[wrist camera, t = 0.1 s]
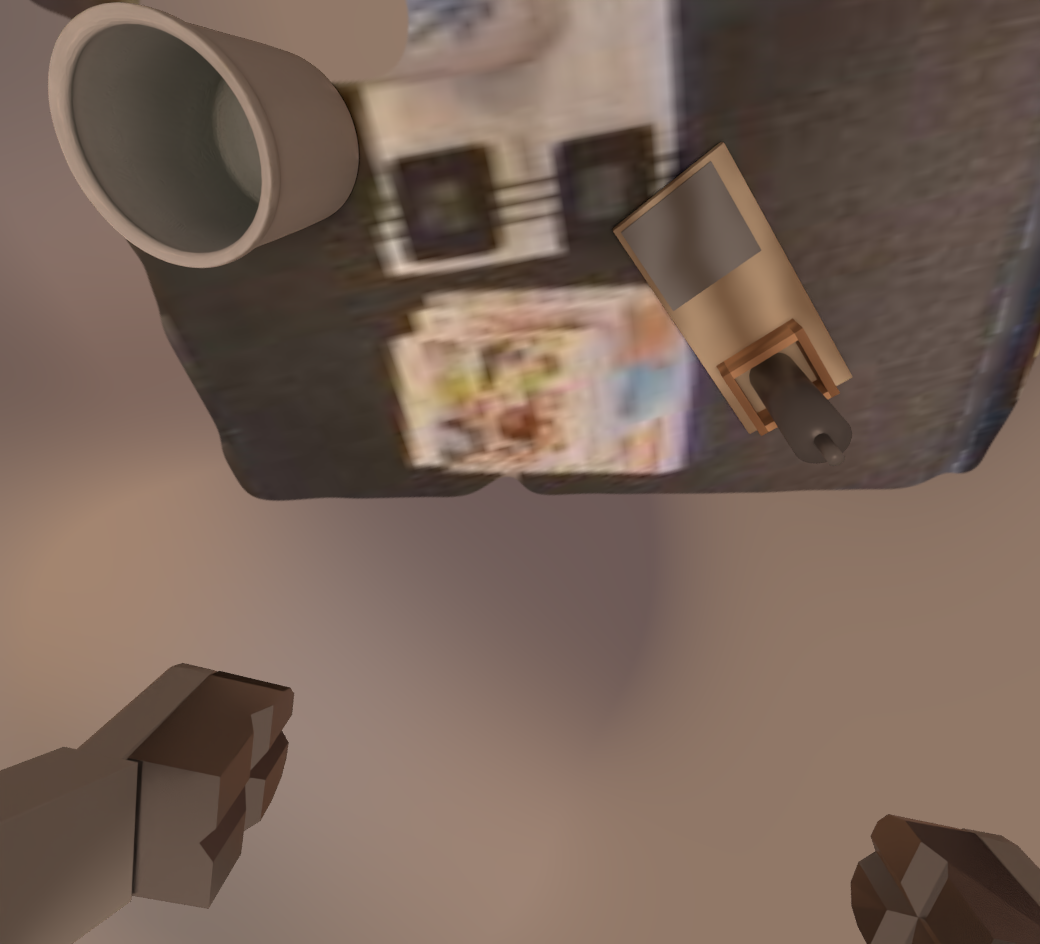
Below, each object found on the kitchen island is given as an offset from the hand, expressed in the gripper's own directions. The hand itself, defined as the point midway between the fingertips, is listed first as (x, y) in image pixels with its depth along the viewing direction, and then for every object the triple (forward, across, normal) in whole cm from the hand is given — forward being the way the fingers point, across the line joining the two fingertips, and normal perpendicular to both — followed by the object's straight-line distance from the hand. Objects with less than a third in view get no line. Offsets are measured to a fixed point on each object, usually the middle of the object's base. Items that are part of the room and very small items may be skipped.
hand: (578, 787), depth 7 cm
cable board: (+51, -16, -13) cm, 55 cm away
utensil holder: (+49, +29, -18) cm, 60 cm away
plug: (+51, -22, -7) cm, 56 cm away
